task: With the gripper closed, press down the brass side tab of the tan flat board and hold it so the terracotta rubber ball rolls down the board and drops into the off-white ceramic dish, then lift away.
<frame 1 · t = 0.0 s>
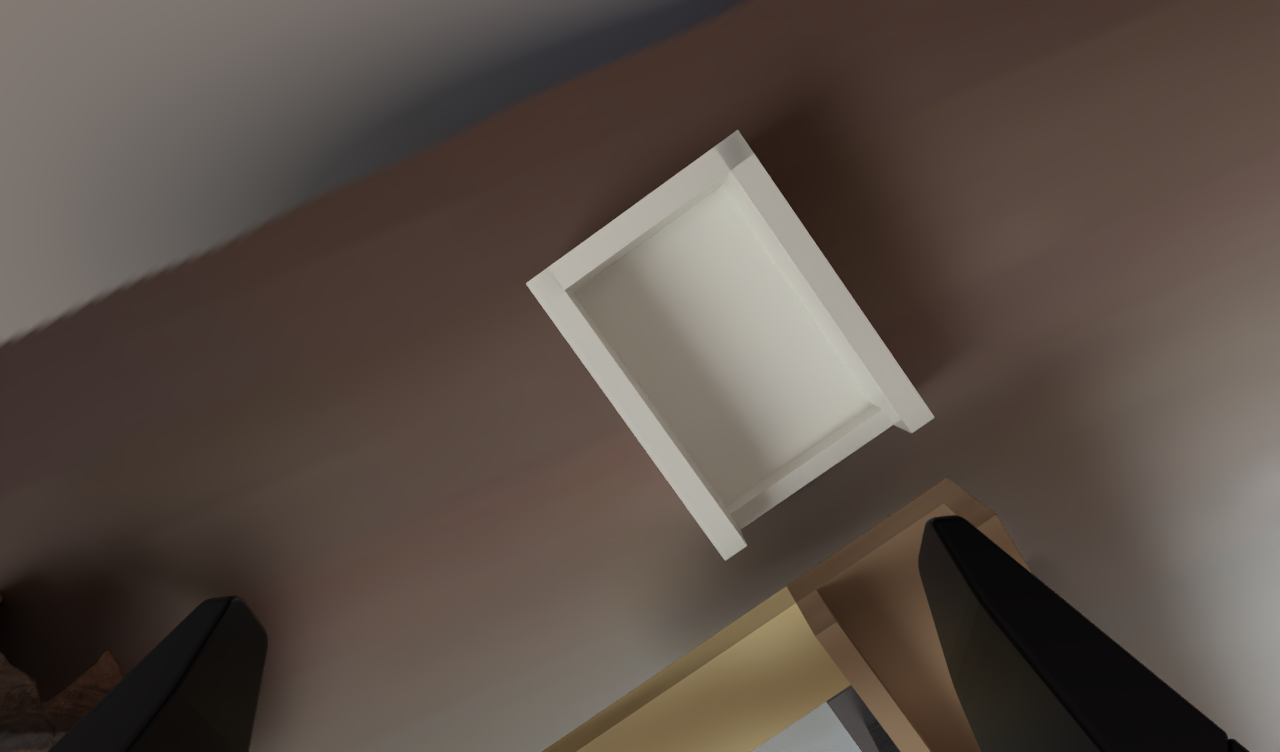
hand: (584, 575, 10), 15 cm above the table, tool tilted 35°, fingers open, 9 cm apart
pottery mug: (55, 724, 26), on the table
dish: (720, 345, 24), on the table
fulcrum: (960, 688, 25), on the table
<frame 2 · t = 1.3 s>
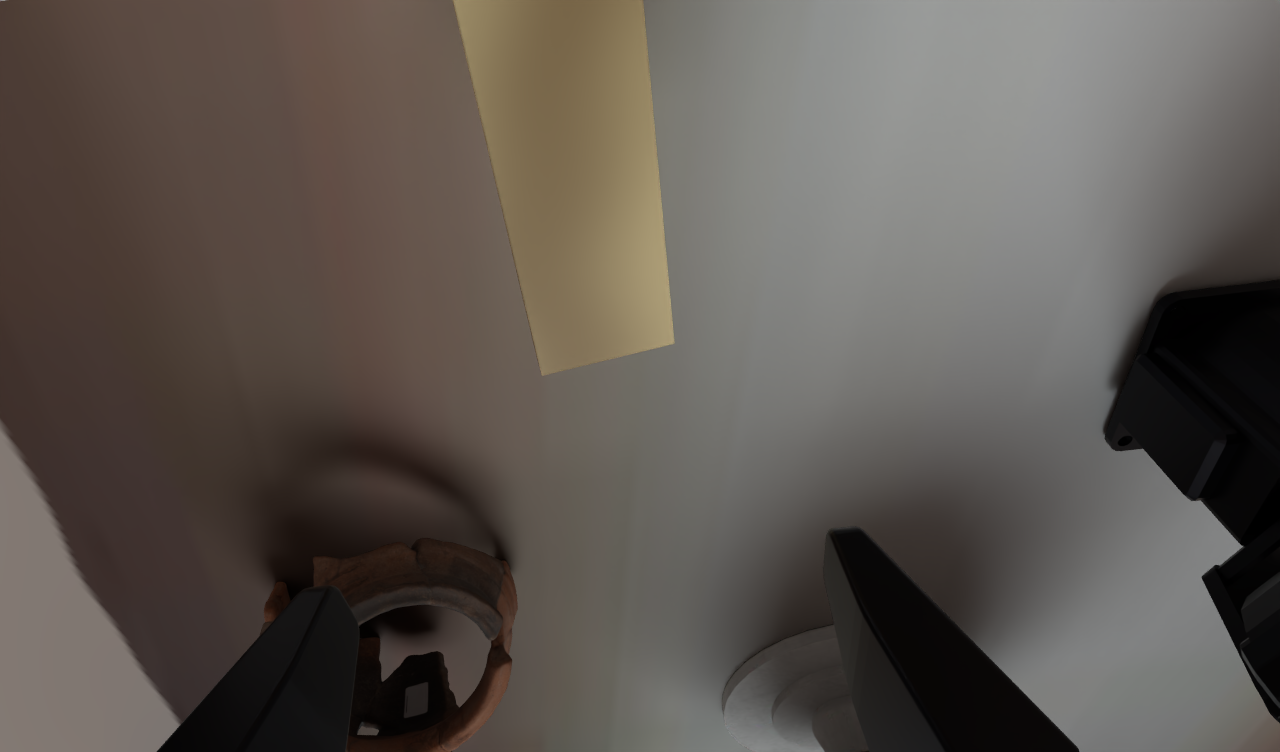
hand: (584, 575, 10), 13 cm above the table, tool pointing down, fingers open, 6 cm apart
pottery mug: (408, 588, 31), on the table
mate gourd: (855, 682, 37), on the table
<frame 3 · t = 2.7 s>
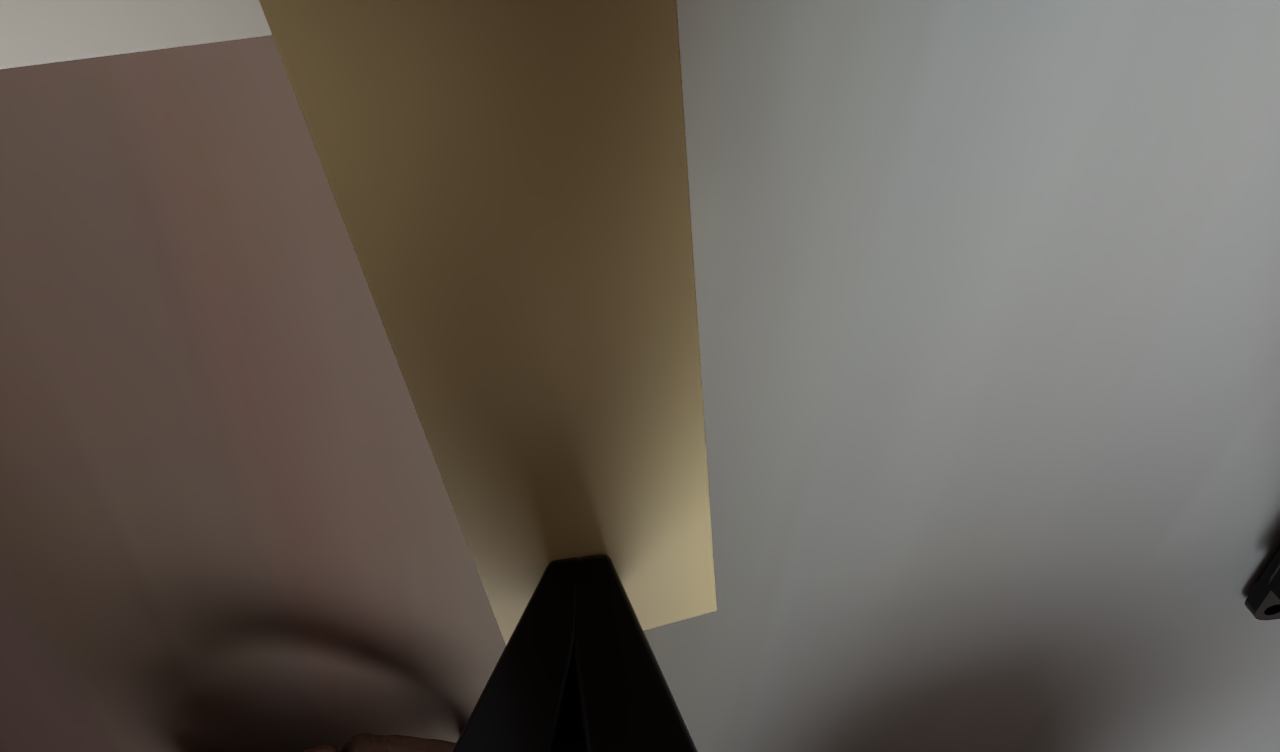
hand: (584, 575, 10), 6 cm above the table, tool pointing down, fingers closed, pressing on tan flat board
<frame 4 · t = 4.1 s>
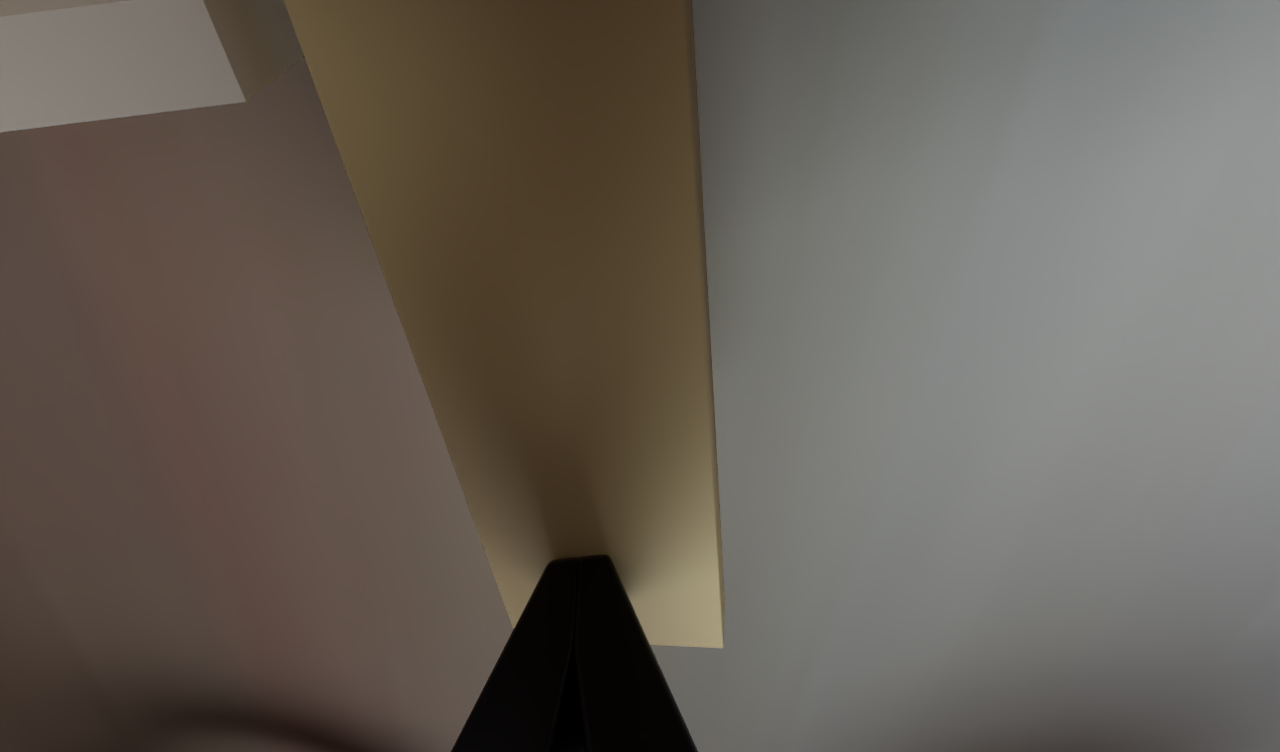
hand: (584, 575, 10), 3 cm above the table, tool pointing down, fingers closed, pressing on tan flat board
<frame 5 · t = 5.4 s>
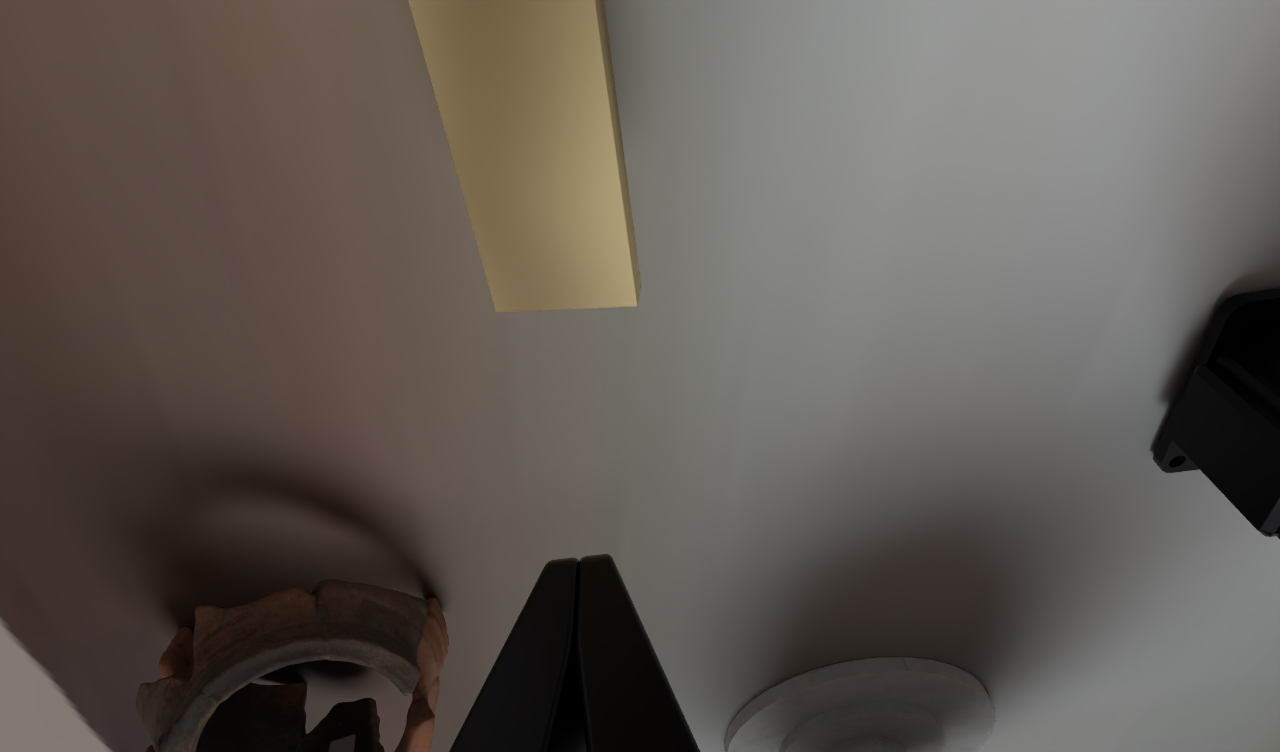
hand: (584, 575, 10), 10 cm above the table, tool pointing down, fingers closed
pottery mug: (331, 630, 27), on the table
mate gourd: (869, 720, 34), on the table
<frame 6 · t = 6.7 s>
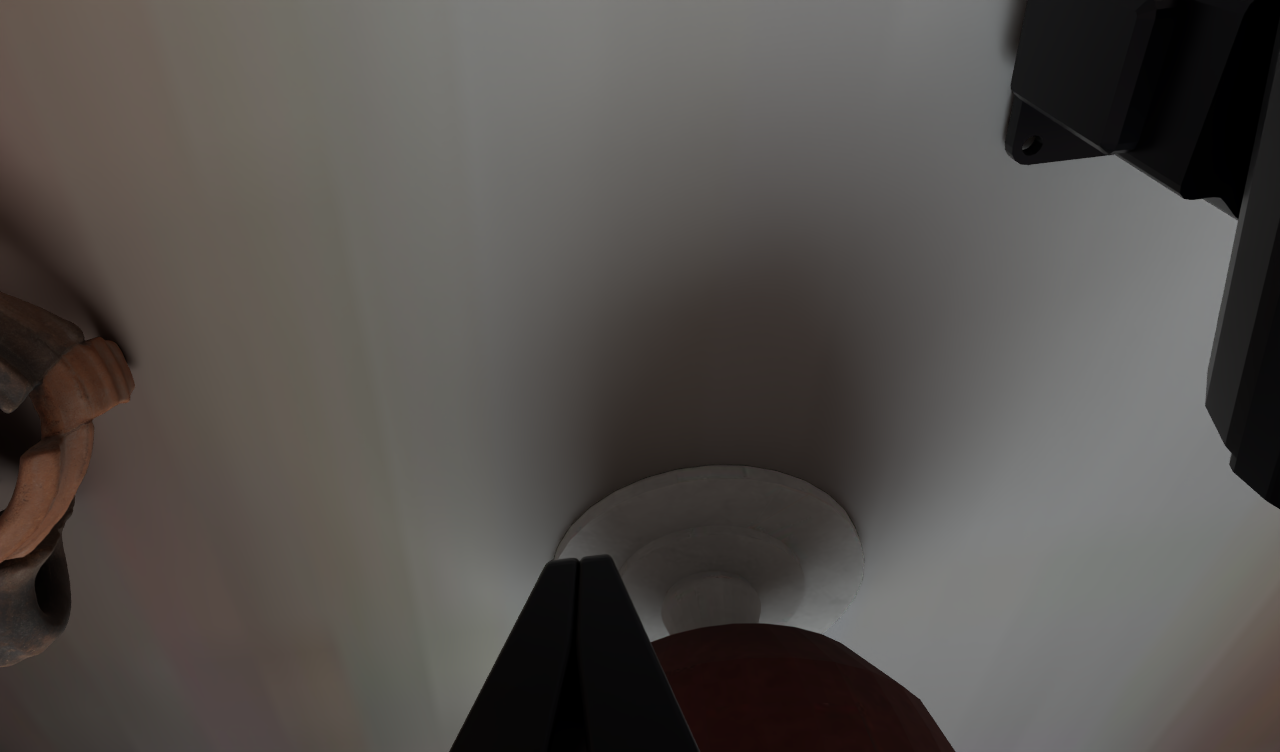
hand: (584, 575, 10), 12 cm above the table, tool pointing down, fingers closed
pottery mug: (8, 396, 22), on the table
mate gourd: (722, 563, 29), on the table
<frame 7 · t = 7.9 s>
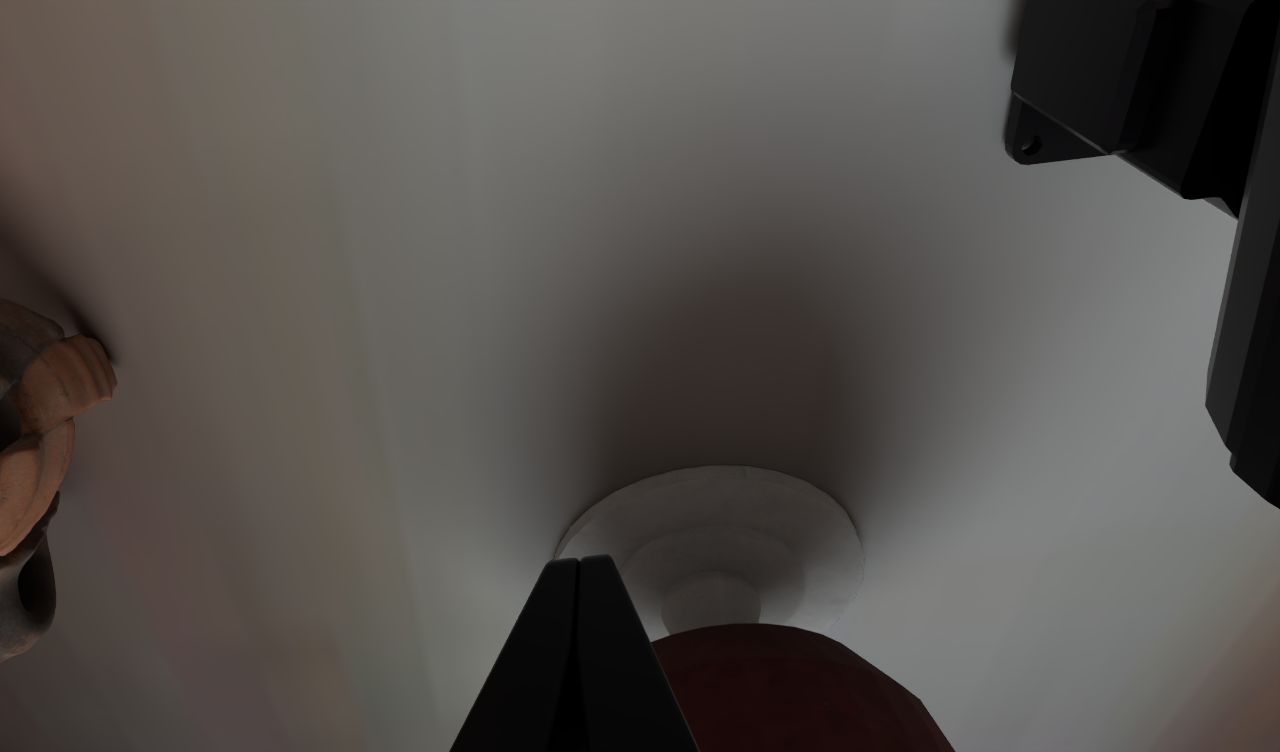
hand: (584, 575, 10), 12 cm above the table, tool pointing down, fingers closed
mate gourd: (722, 563, 29), on the table
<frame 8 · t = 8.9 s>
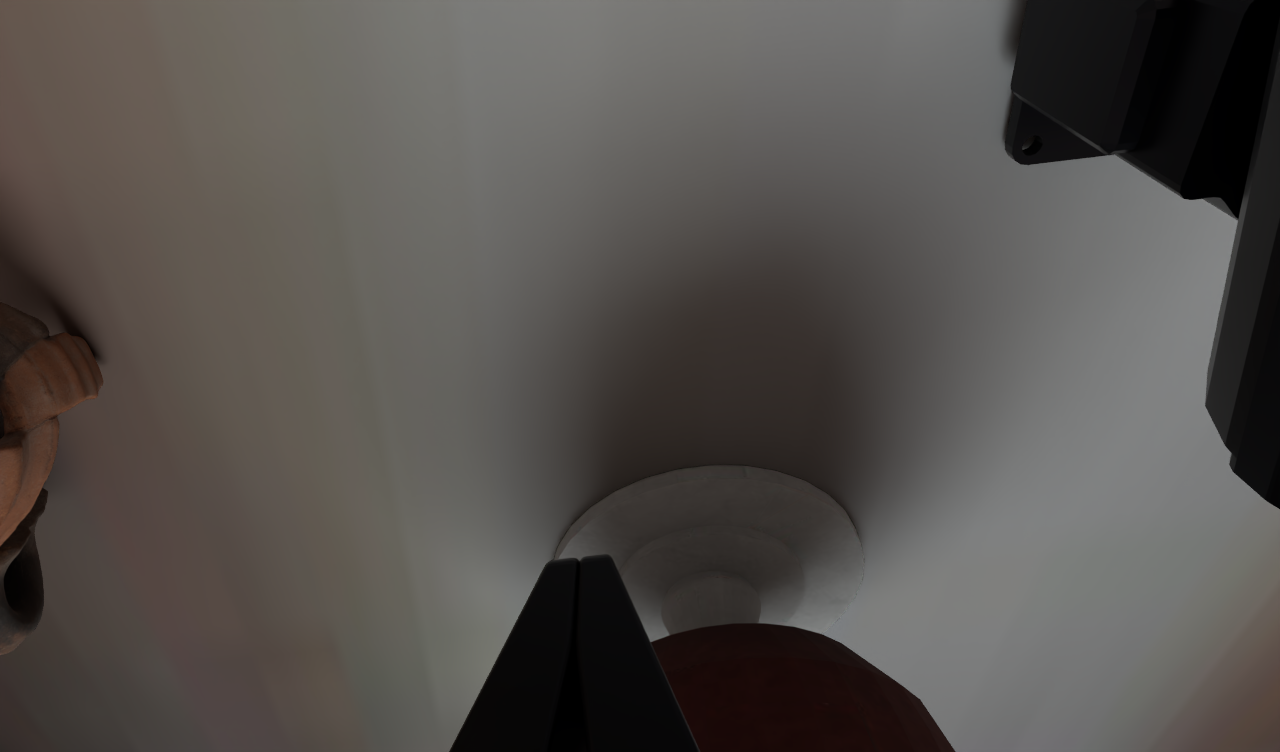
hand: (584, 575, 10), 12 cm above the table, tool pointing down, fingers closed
mate gourd: (722, 563, 29), on the table
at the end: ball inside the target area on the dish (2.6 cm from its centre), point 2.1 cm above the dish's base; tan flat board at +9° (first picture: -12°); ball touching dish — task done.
